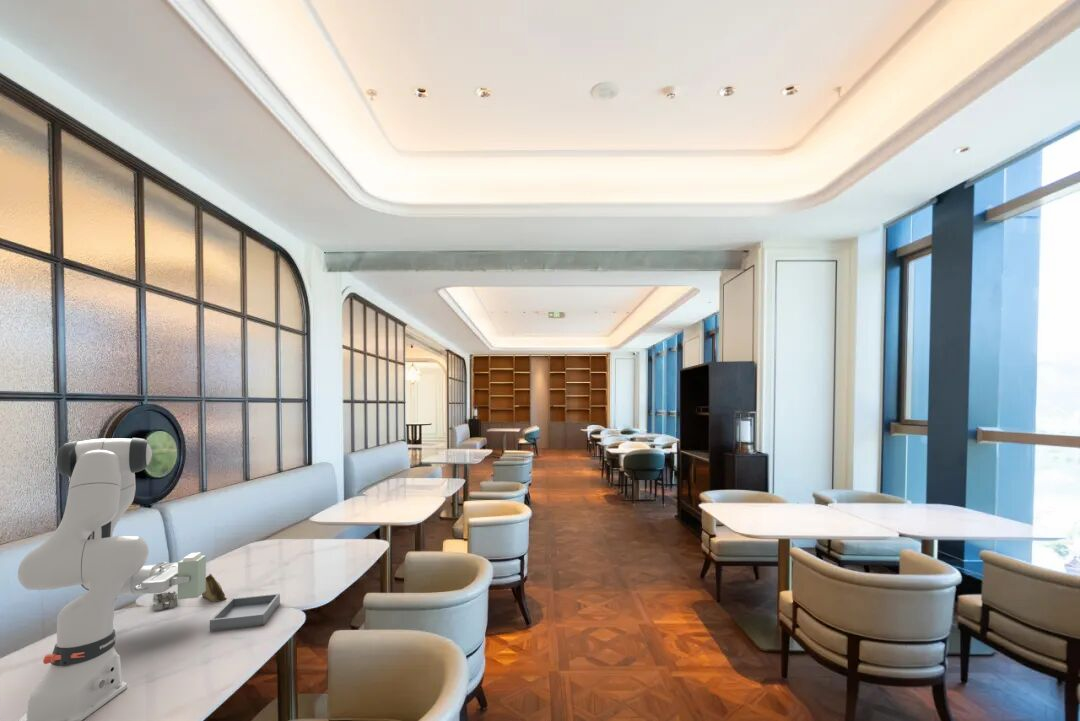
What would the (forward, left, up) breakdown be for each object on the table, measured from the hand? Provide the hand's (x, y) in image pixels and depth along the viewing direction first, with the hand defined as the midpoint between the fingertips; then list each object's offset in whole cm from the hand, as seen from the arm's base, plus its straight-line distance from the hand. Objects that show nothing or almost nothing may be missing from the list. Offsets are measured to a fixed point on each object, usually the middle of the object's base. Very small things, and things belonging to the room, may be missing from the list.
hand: (194, 575), depth 175 cm
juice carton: (0, +1, -7) cm, 7 cm away
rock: (+22, +3, -16) cm, 28 cm away
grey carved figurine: (+20, +18, -16) cm, 32 cm away
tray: (0, -16, -16) cm, 22 cm away
